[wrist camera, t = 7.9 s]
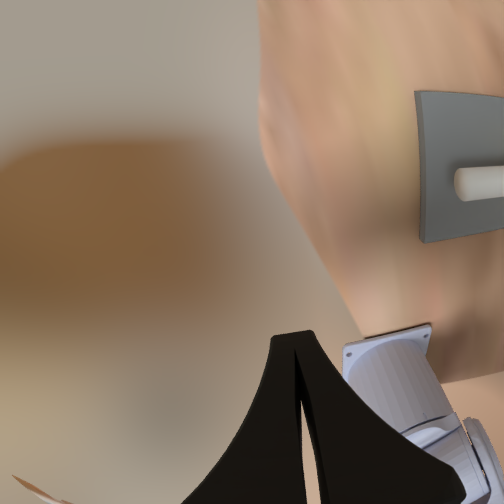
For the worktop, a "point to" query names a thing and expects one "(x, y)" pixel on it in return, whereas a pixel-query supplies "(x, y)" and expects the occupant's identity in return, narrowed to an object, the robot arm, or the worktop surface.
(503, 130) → the rail
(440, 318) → the worktop surface
